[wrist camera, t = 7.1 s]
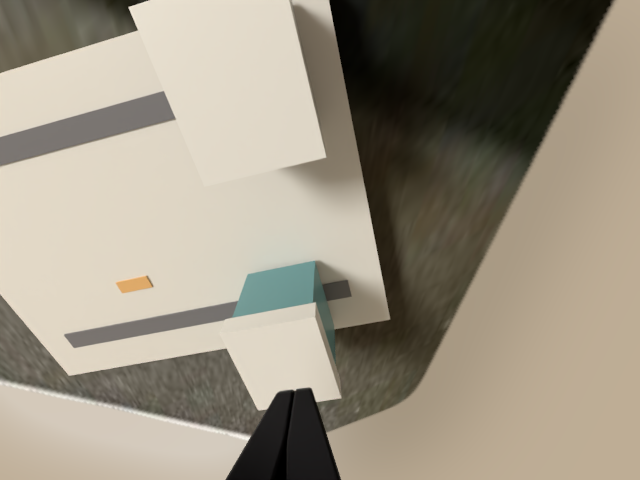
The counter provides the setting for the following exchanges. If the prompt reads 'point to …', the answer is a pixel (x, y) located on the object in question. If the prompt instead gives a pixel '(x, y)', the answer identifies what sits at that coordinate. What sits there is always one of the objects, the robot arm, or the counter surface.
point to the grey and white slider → (234, 83)
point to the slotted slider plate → (164, 209)
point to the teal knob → (283, 335)
